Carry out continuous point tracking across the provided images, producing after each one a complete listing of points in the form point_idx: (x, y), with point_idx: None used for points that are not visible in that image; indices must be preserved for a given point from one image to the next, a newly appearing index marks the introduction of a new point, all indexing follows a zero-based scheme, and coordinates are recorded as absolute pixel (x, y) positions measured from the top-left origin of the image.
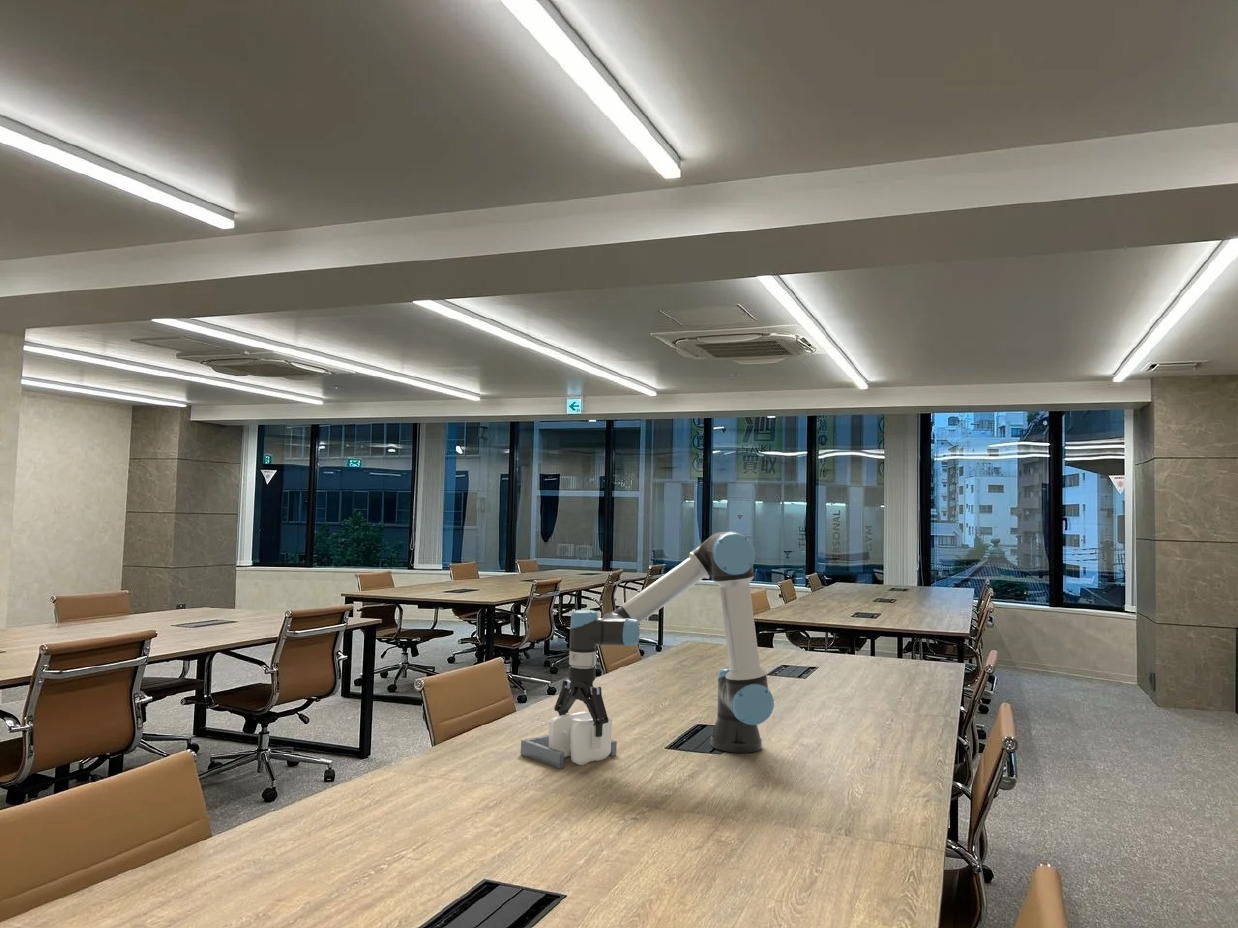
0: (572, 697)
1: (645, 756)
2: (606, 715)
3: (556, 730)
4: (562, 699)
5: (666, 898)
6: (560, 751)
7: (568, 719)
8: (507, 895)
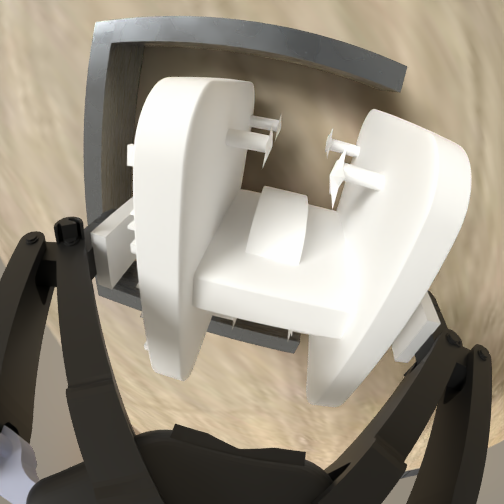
0: (132, 433)
1: (476, 35)
2: (487, 382)
3: (202, 341)
4: (34, 337)
5: (493, 441)
6: (281, 338)
7: (191, 321)
8: (403, 474)
